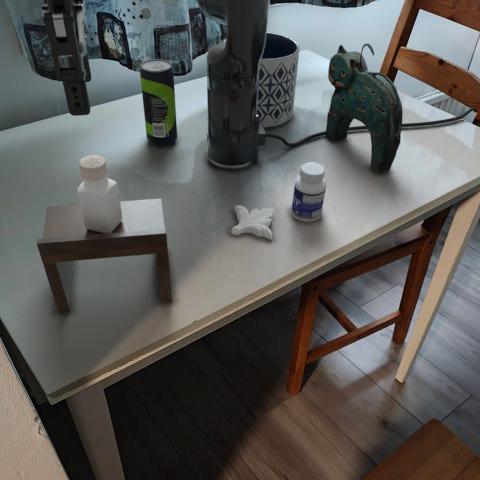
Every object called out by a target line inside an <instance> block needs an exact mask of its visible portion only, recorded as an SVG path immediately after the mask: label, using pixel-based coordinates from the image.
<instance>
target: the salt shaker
mask: <svg viewBox="0 0 480 480" xmlns="http://www.w3.org/2000/svg"><path fill="white" fill-rule="evenodd" d="M78 166H79V171H80V176H81V178H82V182H81V183H80V184H79V186H78V188H77V190H76V191H77V192H76V194H77V198H78V202H79V203H78V204H80V207H81V211H82V216H83V220H84V225H85V227H86V228H87V229H89V230H93V231H97V232H101V233H105V234H108V233H112V231H113V230H114V229H115V228H116V227H117V226H118V224H119V223H120V222H121V221H122V211H121V205H120V201H121V200H120V194H119V193H120V192H119V188H118V183H117V182H116V181H115V180H114V179H111V178H109V176H108V175H109V173H108V172H109V171H108V167H107V161H106V159H105V158H104V156H101V155H99V154H98V155H97V154H96V155H95V154H91V155H86V156H83V157H82V158H80V160H79V162H78Z"/></svg>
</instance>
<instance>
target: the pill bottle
mask: <svg viewBox="0 0 480 480" xmlns="http://www.w3.org/2000/svg"><path fill="white" fill-rule="evenodd" d="M325 173H326V168H325V167H324V166H323V164H321V163H319V162H311V161H309V162H305V163H303V164H302V165H301V166H300V170H299V175H298V176H297V177H296V178H295V182H294V187H293V194H292V195H293V197H292V204H291V215H292V216H293V217H294V218H295V219H296V220H298V221H302V222H307V223H309V222H314V221H317V220H319V219H320V218H321V217H322V212H323V206H324V200H325V195H326V190H327V182H326V180H325Z"/></svg>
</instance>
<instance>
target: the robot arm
mask: <svg viewBox="0 0 480 480" xmlns="http://www.w3.org/2000/svg"><path fill="white" fill-rule="evenodd" d="M42 1H43V5H41V15H42V21H43V23H44V26H45V30H46V34H47V38H48V39H47V40H48V45H49V51H50V52H51V57H52V61H53V62H52V63H53V66H54V67H53V68H54V70H55V72H54V76H55V78H56V79H57V82H59V83H60V82H62V86H63V90H64V95H65V101H66V104H67V109H68V113H69V114H70V115H71V116H74V117H77V116H88V115H90V113H91V104H90V99H89V92H88V88H87V84H86V83H90V82H91V81H92V73H91V72H92V71H91V67H90V61H89V54H88V49H87V45H88V41H89V40H88V37H87V36H86V34H87V33H88V31H89V30H88V22H87V21H88V20H87V17H86V16H87V11H86V10H87V9H86V1H85V0H42ZM196 3H197V6H198V8H199V9H200V12H201V13H202V14H203V16H205V18H207V19H209V20H210V21H213V22H215V23H218V24H221V25H224V26H226V35H225V39H226V43H223V42H222V43H221V42H220V43H218V44H215V45H214V46H212V47H210V48H209V50H208V51H207V54H206V90H207V91H206V93H207V95H206V96H207V97H206V98H207V99H206V101H207V134H206V141H207V142H206V143H207V161H208V162H209V164H211V165H212V166H214V167H216V168H218V169H221V170H224V171H225V170H226V171H239V170H240V171H241V170H245V169H247V168H250V167H251V166H254V165H255V166H256V165H258V155H259V147H266V140H267V138H271V139H275V140H279V141H281V142H282V143H283V144H284V145H285V146H286V147H288V148H296V147H298V146H301V145H302V144H304V143H307V142H308V141H310V140H313V139H315V138H319V137H322V136H326V130H324V131H320V132H316V133H313V134H310V135H308V136H306V137H305V138H303V139H301V140H299V141H296V142H294V143H291V142H288V141H287V140H286V138H284V137H283V136H281V135H278V134H273V133H268V132H266V130H265V128H263V126H262V123H260V117H259V115H258V112H257V108H258V89H259V71H260V62H261V58H262V56H263V53H264V49H265V43H266V34H267V32H268V23H269V14H270V8H271V7H270V5H271V0H196ZM64 58H67V61H68V66H65V63H64ZM471 112H473V113H475V114H477V113H478V112H479V111H478V109H477V108H476V107H470V108H468V110H466V111H465V112H463V113H462V114H461V115H458V116H454V117H451V118H445V119H439V120H432V121H431V120H430V121H423V122H409V123H402V128H410V127H411V128H412V127H424V126H425V127H426V126H434V125H441V124H447V123H452V122H456V121H460V120H462V119H464V118H465V117H466V116H468V115H469V114H470V113H471ZM360 130H368V129H367V127H366V126H365V125H356V126H349V129H348V132H351V131H360Z"/></svg>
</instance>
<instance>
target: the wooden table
mask: <svg viewBox="0 0 480 480" xmlns="http://www.w3.org/2000/svg"><path fill="white" fill-rule="evenodd" d="M162 199H163V198H150V199H149V198H148V199H136V200H135V199H133V200H120V205H121V211H122V221H121V222H120V223H119V224H118V226H117V227H116V228H115V229H114V230H113V231H112V233H108V234H105V233H101V232H97V231H93V230H89V229H87V228H86V227H85V225H84V220H83V216H82V211H81V207H80V203H78V204H66V205H52V206H46V211H45V212H46V213H45V220H44V229H43V234H42V238H38V239H36V246H37V251H38V253H39V255H40V260H41V262H42V266H43V269H44V272H45V275H46V278H47V280H48V285H49V288H50V290H51V293H52V297H53V300H54V303H55V306H56V309H57V312H58V313H67V312H71V302H72V285H73V269H74V262H76V261H88V260H98V259H110V258H121V257H133V256H145V255H155V257H156V267H157V275H158V283H159V293H160V302H161V303H166V302H173V291H172V280H171V269H170V259H169V248H168V247H169V245H168V235H167V234H168V233H167V229H166V223H165V215H164V207H163V200H162Z"/></svg>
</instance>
